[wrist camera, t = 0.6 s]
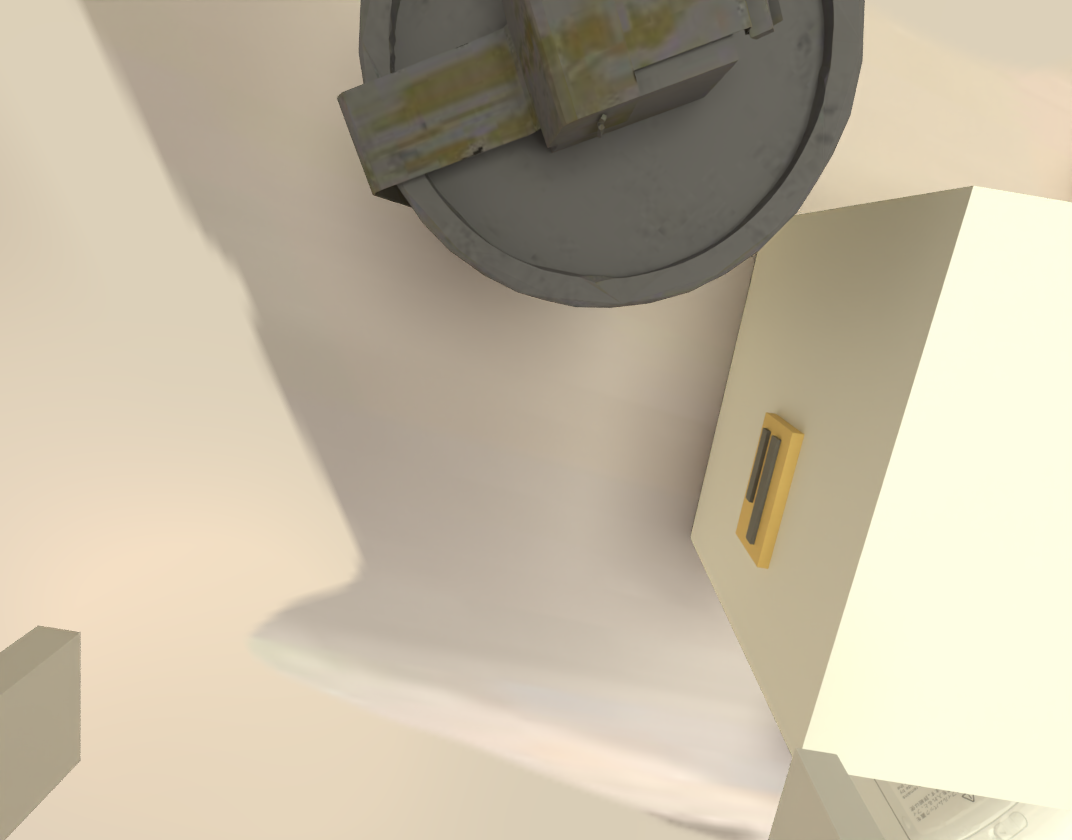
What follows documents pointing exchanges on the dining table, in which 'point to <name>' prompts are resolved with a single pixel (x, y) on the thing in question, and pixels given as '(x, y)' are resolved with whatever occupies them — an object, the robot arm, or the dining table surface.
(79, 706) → the robot arm
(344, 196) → the dining table surface
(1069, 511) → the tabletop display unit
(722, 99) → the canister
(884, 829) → the photo printer
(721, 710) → the dining table surface
